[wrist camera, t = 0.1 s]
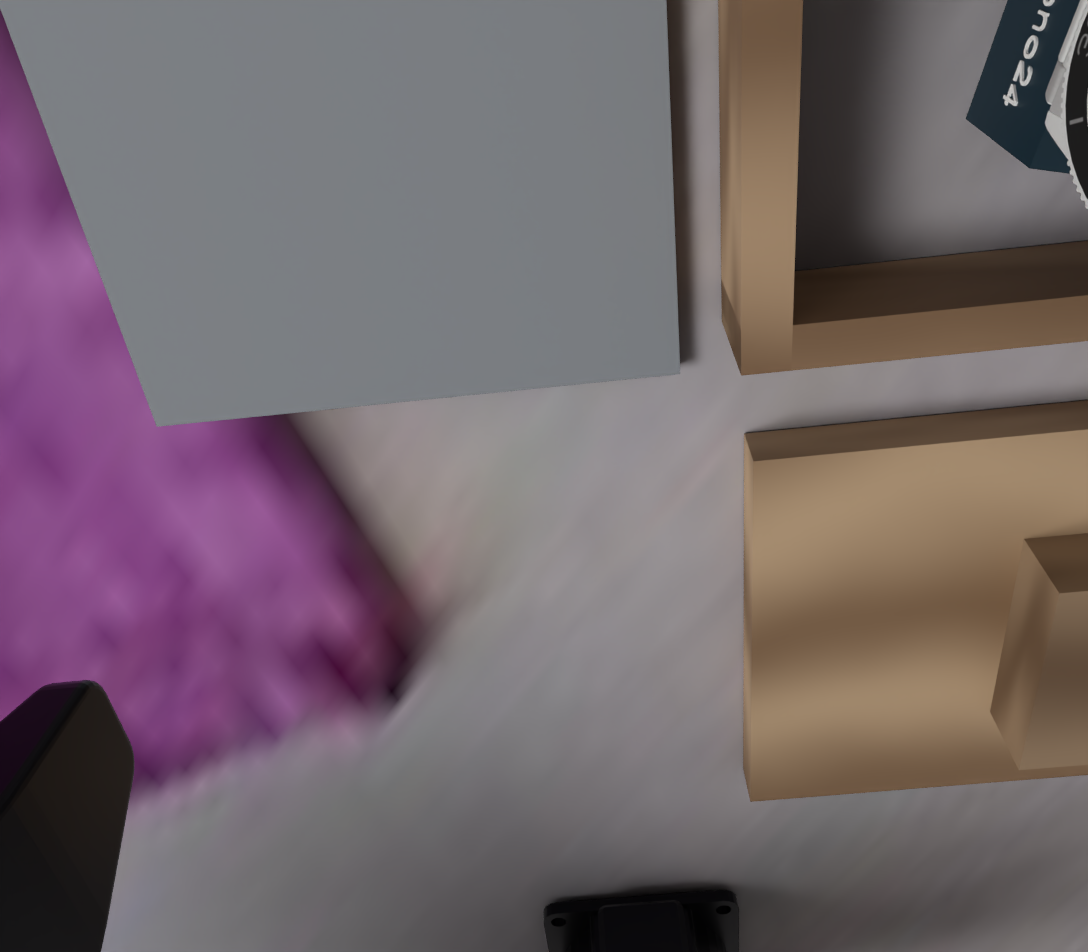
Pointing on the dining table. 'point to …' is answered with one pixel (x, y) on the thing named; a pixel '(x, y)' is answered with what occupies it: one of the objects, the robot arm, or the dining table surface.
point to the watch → (1039, 87)
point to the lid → (916, 602)
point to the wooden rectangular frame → (858, 290)
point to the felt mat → (366, 193)
